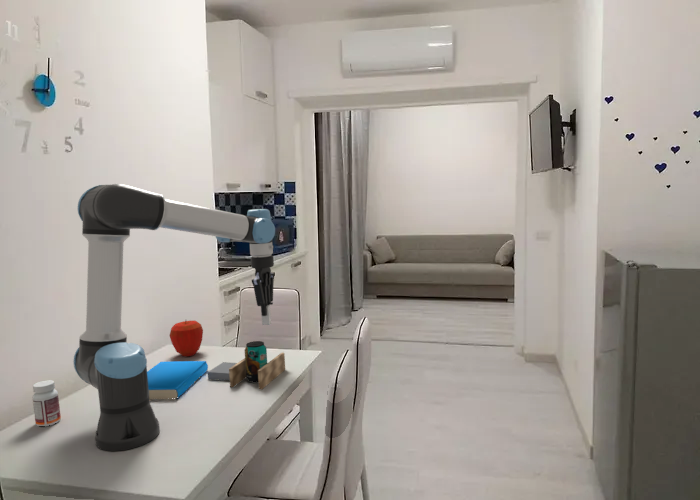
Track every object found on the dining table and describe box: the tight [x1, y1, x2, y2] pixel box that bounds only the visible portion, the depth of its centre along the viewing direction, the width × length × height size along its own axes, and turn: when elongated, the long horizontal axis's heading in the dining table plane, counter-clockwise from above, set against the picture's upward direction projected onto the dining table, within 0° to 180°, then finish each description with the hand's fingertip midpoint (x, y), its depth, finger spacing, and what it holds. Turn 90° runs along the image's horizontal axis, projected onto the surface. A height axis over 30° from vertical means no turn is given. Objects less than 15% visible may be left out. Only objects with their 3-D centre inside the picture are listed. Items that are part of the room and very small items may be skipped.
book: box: [147, 360, 209, 400], centre depth 173 cm, size 17×4×25 cm
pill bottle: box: [32, 379, 62, 427], centre depth 147 cm, size 6×6×11 cm
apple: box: [169, 320, 204, 357], centre depth 202 cm, size 12×12×14 cm
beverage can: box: [244, 340, 268, 383], centre depth 173 cm, size 7×7×12 cm
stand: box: [207, 361, 238, 381], centre depth 179 cm, size 10×10×2 cm
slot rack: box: [229, 352, 286, 390], centre depth 174 cm, size 18×11×6 cm, turn 163°
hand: (266, 324), depth 180 cm, fingers closed
